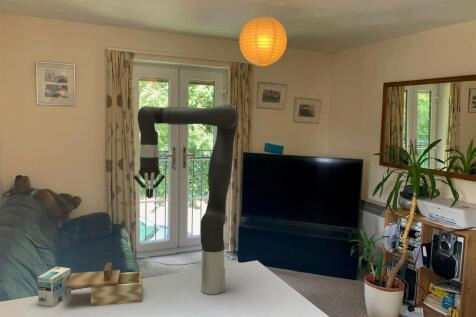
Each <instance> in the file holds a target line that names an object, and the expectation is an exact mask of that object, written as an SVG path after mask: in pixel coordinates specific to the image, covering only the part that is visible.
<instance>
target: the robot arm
mask: <svg viewBox="0 0 476 317" xmlns="http://www.w3.org/2000/svg"><path fill="white" fill-rule="evenodd" d="M239 119H240V116H239V112H238V110H237V109H236V108H235V107H234V106H232V105H229V104H222V105H217V106H211V107H187V106H166V107H164V106H163V107H161V106H150V105H149V106H148V105H145V106H141V107H140V108H139V110H138V112H137V125H138V130H139V133H140V136H139V137H140V142H139V143H140V144H139V170H138V173H137V174H134V175H133V179H134V180H135V181H136V182H137V184H138V185H139V186H140V187H141V188H142V189H145V196H146V197H147V199H152V197H154V189H155V188H158V187H159V185H160V184H161V183H162V182H163V180H164V179H165V177H166V175H165V174H163V173H161V170H160V167H159V166H160V162H159V161H160V158H159V157H160V153H159V152H160V150H159V148H160V147H159V134H158V132H157V130H156V126H155V125H163V124H164V125H165V124H166V125H173V126H174V125H175V126H176V125H177V126H178V125H179V126H180V125H181V126H183V125H184V126H185V125H187V126H188V125H205V126H207V125H208V126H213V127H216V138H215V143H214V146H213V148H212V151H211V155H210V158H209V164H208V171H207V186H208V199H207V204H206V209H205V212H204V213H203V215H202V217H201V219H200V244H201V262H200V263H201V264H200V265H201V272H200V273H201V275H200V276H201V278H200V280H201V281H200V289H201V292H202V293H203V294H206V295H218V294H221V293H225V291H226V268H225V241H224V239H225V238H224V235H225V234H224V232H225V231H224V228H225V224H226V218H227V216H226V214H227V213H226V211H227V210H226V209H227V197H228V192H229V188H230V183H231V178H232V176H231V175H232V169H233V161H234V160H233V158H234V142H235V136H236V132H237V127H238V123H239ZM141 178H142V180H143V181H145V182H144V183H145V184H144V183H143V181H142V180H141ZM157 178H158V179H157ZM156 179H157V181H156V182H155V183H154V181H155V180H156ZM149 183H150V184H149Z"/></svg>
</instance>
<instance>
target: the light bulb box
mask: <svg viewBox="0 0 476 317" xmlns="http://www.w3.org/2000/svg"><path fill="white" fill-rule="evenodd" d="M71 274H72V269H71V268H69V267H62V266H55V267H53V268H52V269H49V270H48V271H46V272H43V274H40V275H39V276H37V302H38V303H37V304H38V306H45V307H55V306H56V305H58V304H60V303H61V302H62V301H64V300H66V299H67V298H69V297H70V296H72V288H71V289H65V286H66V284H67V282H68V280H69V278H70V276H71Z"/></svg>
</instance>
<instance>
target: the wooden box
mask: <svg viewBox="0 0 476 317" xmlns="http://www.w3.org/2000/svg"><path fill="white" fill-rule="evenodd" d="M142 297H143V271H132V272H120V275H119V280H118V285H110V286H97V287H90V306H91V307H94V306H95V307H96V306H107V305H119V304H121V305H122V304H129V303H130V304H131V303H141V302H143V301H142V300H143V298H142Z"/></svg>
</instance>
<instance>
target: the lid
mask: <svg viewBox="0 0 476 317" xmlns="http://www.w3.org/2000/svg"><path fill="white" fill-rule="evenodd" d="M112 265H113V264H112V262H106V263H105V266H104V269H103V270H99V271H85V272H83V271H82V272H71V276H70V278H69V280H68V282H67V284H66V286H65V289H71V290H72V289H81V288H91V287H97V286H110V285H118V280H119V275H120V273H121V270H120V269H116V270H115V269H113V266H112ZM112 269H113V270H112Z"/></svg>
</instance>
